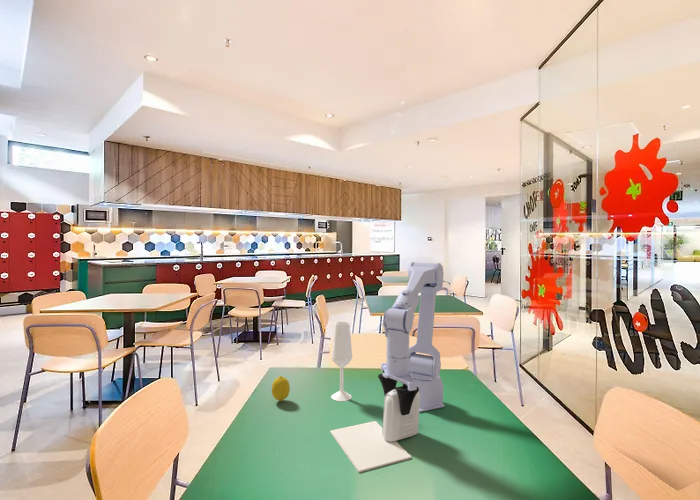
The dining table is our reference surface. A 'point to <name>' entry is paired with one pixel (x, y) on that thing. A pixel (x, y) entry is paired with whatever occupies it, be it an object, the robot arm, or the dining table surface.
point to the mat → (368, 446)
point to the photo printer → (399, 418)
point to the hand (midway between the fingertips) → (397, 407)
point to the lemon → (280, 388)
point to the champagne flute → (341, 355)
